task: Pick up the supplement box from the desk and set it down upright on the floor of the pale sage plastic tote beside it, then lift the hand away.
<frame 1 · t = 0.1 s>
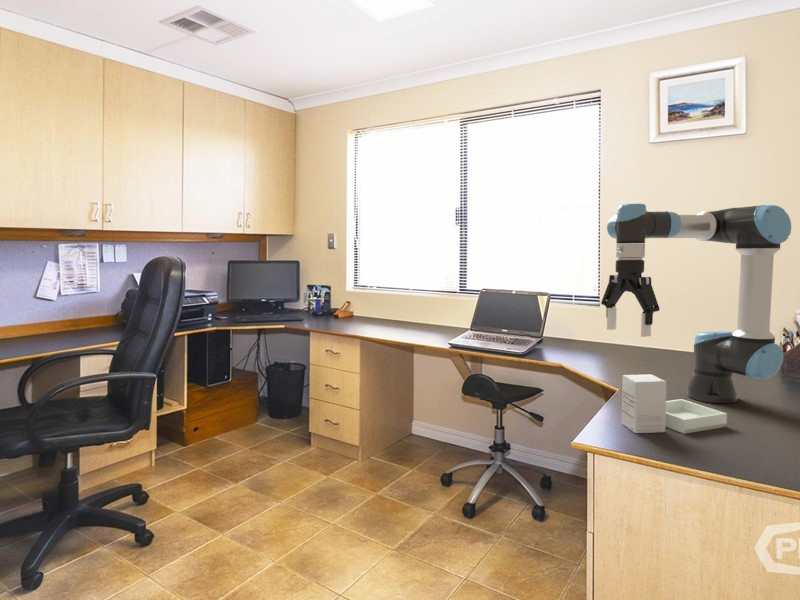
hand: (627, 332, 154), 28 cm above the table, fingers open, 13 cm apart
supplement box: (642, 428, 155), on the table
tote: (682, 421, 160), on the table
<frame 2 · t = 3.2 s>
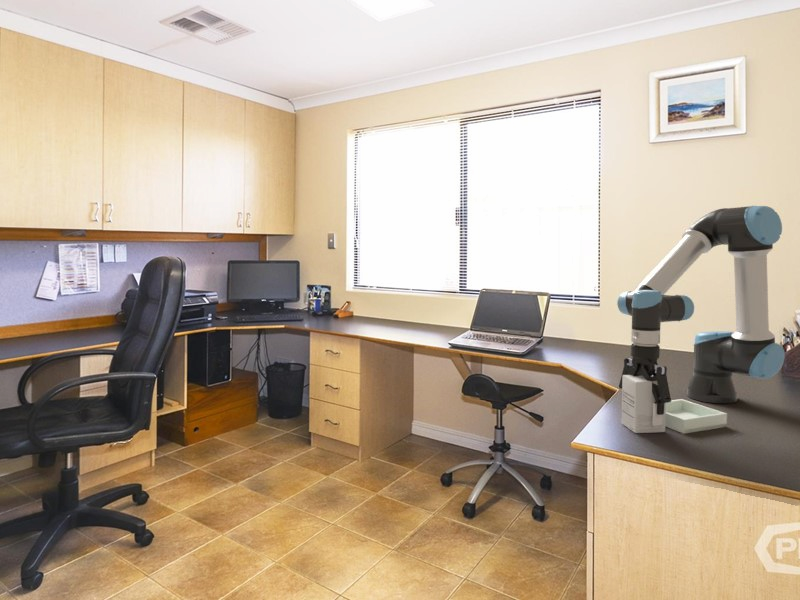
hand: (642, 419, 155), 3 cm above the table, fingers closed on supplement box, 10 cm apart
supplement box: (642, 428, 155), on the table, touching gripper
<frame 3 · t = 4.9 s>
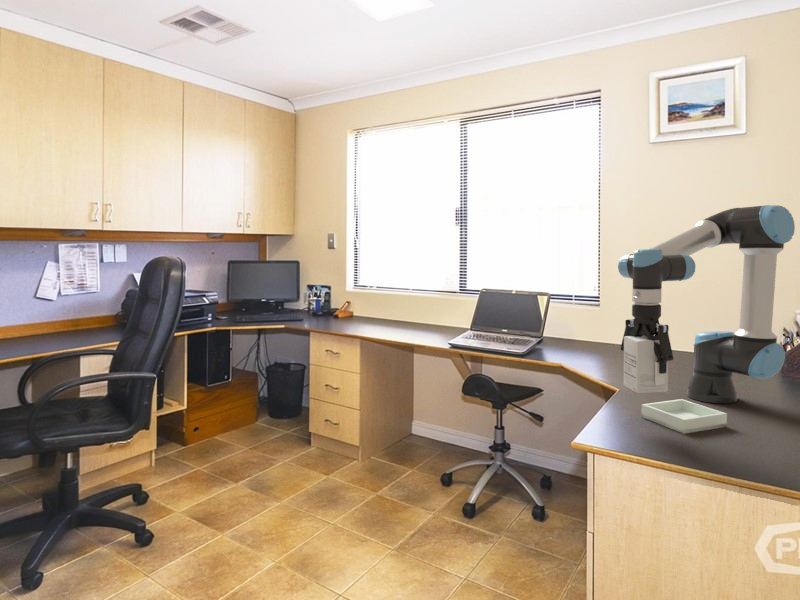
hand: (645, 379, 154), 14 cm above the table, fingers closed on supplement box, 10 cm apart
supplement box: (644, 389, 154), point 11 cm above the table, touching gripper
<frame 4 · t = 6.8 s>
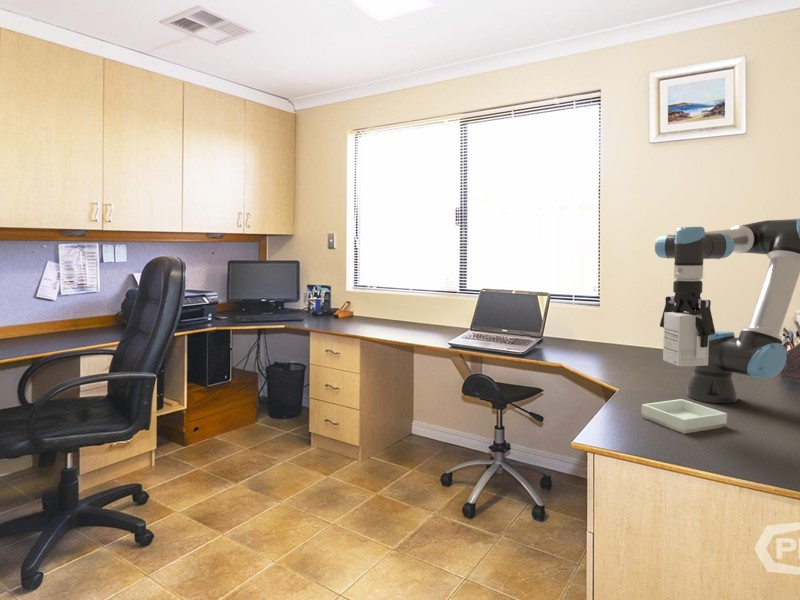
hand: (685, 354, 158), 20 cm above the table, fingers closed on supplement box, 10 cm apart
supplement box: (684, 363, 158), point 18 cm above the table, touching gripper
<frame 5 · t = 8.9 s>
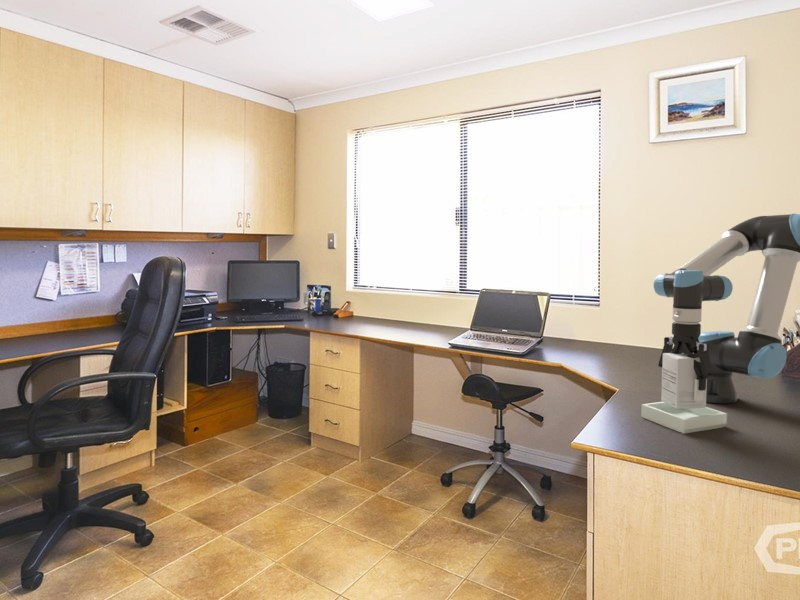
hand: (683, 396, 159), 8 cm above the table, fingers closed on supplement box, 10 cm apart
supplement box: (682, 404, 159), point 5 cm above the table, touching gripper
when the fingers open (5 cm above the table, at t = 10.5 s): supplement box drops 2 cm, resting on tote.
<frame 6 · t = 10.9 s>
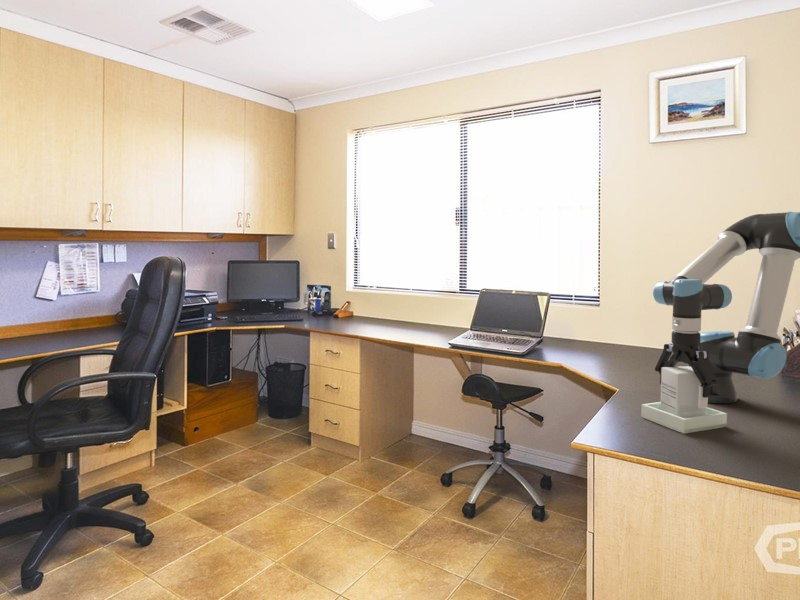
hand: (683, 401, 159), 6 cm above the table, fingers open, 13 cm apart
supplement box: (681, 418, 160), point 1 cm above the table, touching tote
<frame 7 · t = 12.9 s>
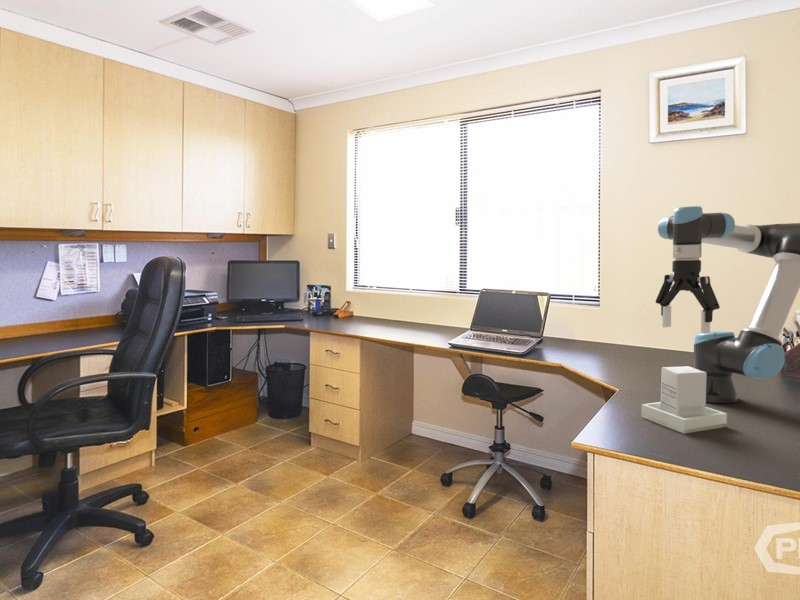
hand: (685, 330, 160), 27 cm above the table, fingers open, 13 cm apart
nothing on the table moved.
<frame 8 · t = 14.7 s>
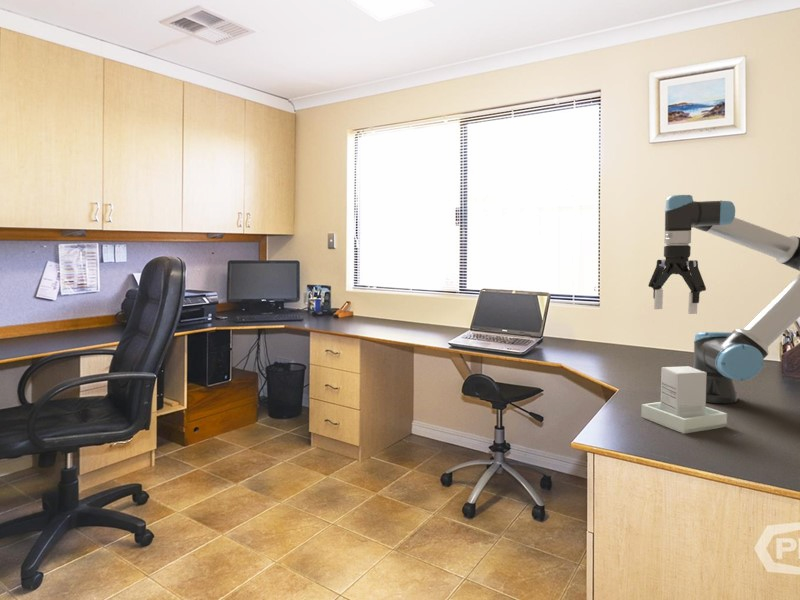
hand: (674, 311, 171), 32 cm above the table, fingers open, 13 cm apart
nothing on the table moved.
at the end: supplement box inside the target area on the tote (0.4 cm from its centre), point 0.8 cm above the tote's base; supplement box tilted 0°; the gripper is holding nothing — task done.
